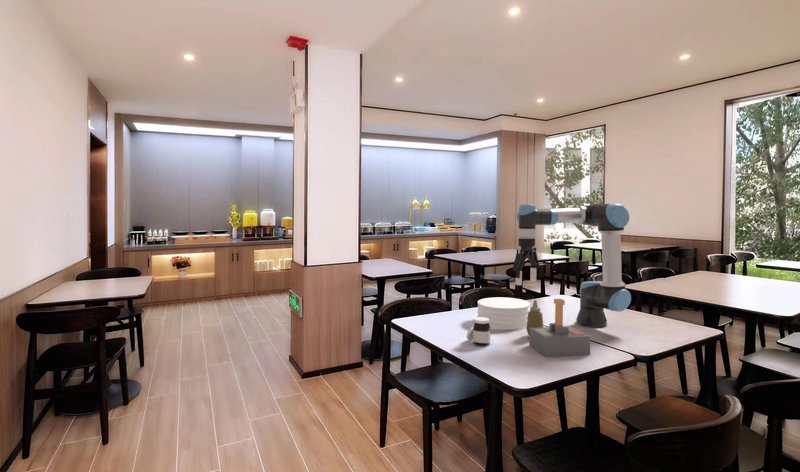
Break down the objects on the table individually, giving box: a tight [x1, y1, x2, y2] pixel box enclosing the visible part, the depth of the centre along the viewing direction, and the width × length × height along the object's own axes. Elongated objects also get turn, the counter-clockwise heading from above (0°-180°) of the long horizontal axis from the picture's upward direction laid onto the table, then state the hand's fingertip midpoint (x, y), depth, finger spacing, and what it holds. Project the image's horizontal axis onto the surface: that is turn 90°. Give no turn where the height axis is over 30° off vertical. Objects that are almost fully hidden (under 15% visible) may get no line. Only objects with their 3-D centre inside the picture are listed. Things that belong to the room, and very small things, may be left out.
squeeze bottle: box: [525, 299, 544, 336], centre depth 206 cm, size 8×8×18 cm
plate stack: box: [477, 296, 531, 331], centre depth 232 cm, size 28×28×12 cm
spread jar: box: [466, 316, 491, 347], centre depth 198 cm, size 12×11×12 cm
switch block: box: [528, 322, 591, 358], centre depth 187 cm, size 20×16×11 cm
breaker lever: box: [553, 298, 566, 327], centre depth 186 cm, size 3×4×14 cm
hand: (526, 283), depth 197 cm, fingers open, 13 cm apart
